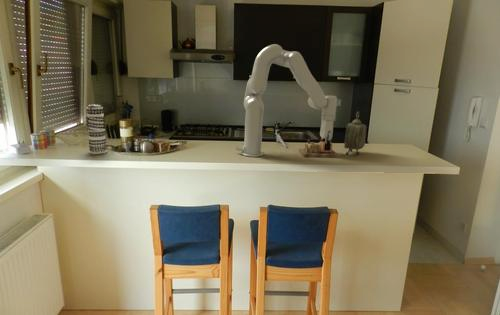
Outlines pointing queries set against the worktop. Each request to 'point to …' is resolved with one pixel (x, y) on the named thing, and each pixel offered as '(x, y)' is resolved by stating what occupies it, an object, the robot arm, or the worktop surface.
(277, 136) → the caliper
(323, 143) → the terracotta gear
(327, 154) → the gear board
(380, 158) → the worktop surface
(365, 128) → the tabletop clock
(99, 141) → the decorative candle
